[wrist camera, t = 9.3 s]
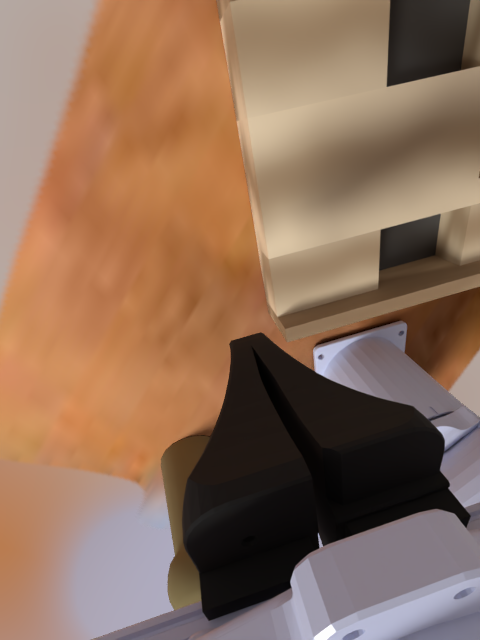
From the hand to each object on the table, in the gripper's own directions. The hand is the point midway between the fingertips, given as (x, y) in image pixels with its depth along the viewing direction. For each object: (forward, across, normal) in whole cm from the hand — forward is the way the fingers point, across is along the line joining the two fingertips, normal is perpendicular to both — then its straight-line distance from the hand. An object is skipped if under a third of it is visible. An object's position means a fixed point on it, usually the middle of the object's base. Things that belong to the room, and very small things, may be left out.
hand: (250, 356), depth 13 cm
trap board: (+9, -13, -4) cm, 17 cm away
